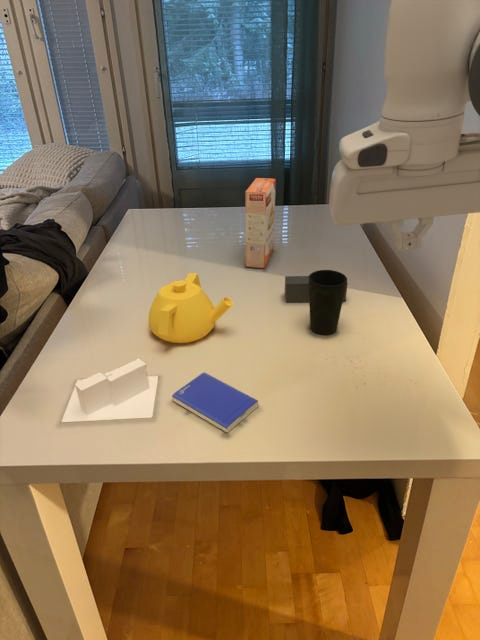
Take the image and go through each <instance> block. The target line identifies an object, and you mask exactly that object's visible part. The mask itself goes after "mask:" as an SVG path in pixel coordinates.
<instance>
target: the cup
mask: <svg viewBox="0 0 480 640" xmlns="http://www.w3.org/2000/svg"><path fill="white" fill-rule="evenodd" d="M308 276H309V302H308V303H309V329H310V331H311V332H312V333H314V334H315V335H318V336H325V337H326V336H331V335H333V334H335V333H336V332H337V329H338V325H339V321H340V320H339V319H340V316H341V311H342V308H343V307H342V306H343V303H344V302H343V298H344V293H345V289H346V284H347V283H348V277H347V276H346V275H345V274H344V273H342V272H340V271H337V270H333V269H319V270H316V271H313V272H311V273H310V274H309V275H308ZM347 285H348V284H347Z"/></svg>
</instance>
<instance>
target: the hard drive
mask: <svg viewBox="0 0 480 640" xmlns="http://www.w3.org/2000/svg"><path fill="white" fill-rule="evenodd" d="M171 400H172V401H173V402H174V403H176V404H178V405H179V406H181V407H183V408H185V409H186V410H187V411H190V412H191V413H193V414H194V415H196V416H198V417H200V418H201V419H203V420H204V421H206V422H207V423H210V424H212V425H213V426H214V427H216V428H219V430H222V431H223V432H225V433H227V434H228V433H229V432H231V431H232V430H233V429H234V428H235V427H236V426H237V425H239V424H240V423H241V422H242V421H243V420H244V419H246V418H247V417H248V416H249V415H250V414H251V413H252V412H254V411H255V410H256V409H257V408H258V407H259V400H258V399H256V398H254V397H252V396H250V395H249V394H247V393H244V392H242V391H241V390H239V389H237V388H235V387H233V386H231V385H229V384H227V383H226V382H224V381H222V380H220V379H219V378H218V379H217V378H216V377H214V376H212V375H210V374H208V373H207V372H202V373H200V374H199V375H198V376H196V377H195V378H194V379H192V380H191V381H189V382H188V383H186V384H185V385H183V386H182V387H180V388H179V389H177V391H175V392H174V393H173V394H172V395H171Z"/></svg>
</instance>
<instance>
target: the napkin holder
mask: <svg viewBox="0 0 480 640" xmlns="http://www.w3.org/2000/svg"><path fill="white" fill-rule="evenodd" d="M158 383H159V375H152V374H151V375H148V368H147V364H146V363H145V362H144V361H143V360H141V359H140V358H137V359H134V360H132V361H129V362H128V363H126V364H124V365H122V366H120V367H117V368H115V369H113V370H111V371H108V372H105V373H104V374H103V373H102V372H101V371H99V372H98V373H95V374H93V375H91V376H88V377H87V378H85V379H76V383H74V388H73V390H72V393H71V395H70V398H69V401H68V403H67V406H66V409H65V411H64V414H63V416H62V419H61V421H60V423H74V422H75V423H76V422H95V421H112V420H131V419H133V420H134V419H151V418H153V415H154V408H155V402H156V396H157V395H156V394H157V388H158Z"/></svg>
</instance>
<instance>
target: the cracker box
mask: <svg viewBox="0 0 480 640" xmlns="http://www.w3.org/2000/svg"><path fill="white" fill-rule="evenodd" d="M276 184H277V179H276V178H270V177H269V178H267V177H265V178H264V177H255V179H254V180H253V181H252V183H251V184H250V185H249V186H248V188H247V189H246V190H245V197H244V198H245V203H244V205H245V208H244V209H245V214H244V215H245V217H244V219H245V221H244V222H245V223H244V224H245V229H244V230H245V234H244V235H245V238H244V240H245V242H244V244H245V245H244V246H245V247H244V248H245V251H244V252H245V253H244V254H245V255H244V256H245V257H244V259H245V260H244V261H245V262H244V263H245V268H252V269H253V268H254V269H266V267H267V265H268V263H269V260H270V258H271V256H272V253H273V251H274V238H275V214H276V213H275V211H276V210H275V209H276V186H277V185H276Z"/></svg>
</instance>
